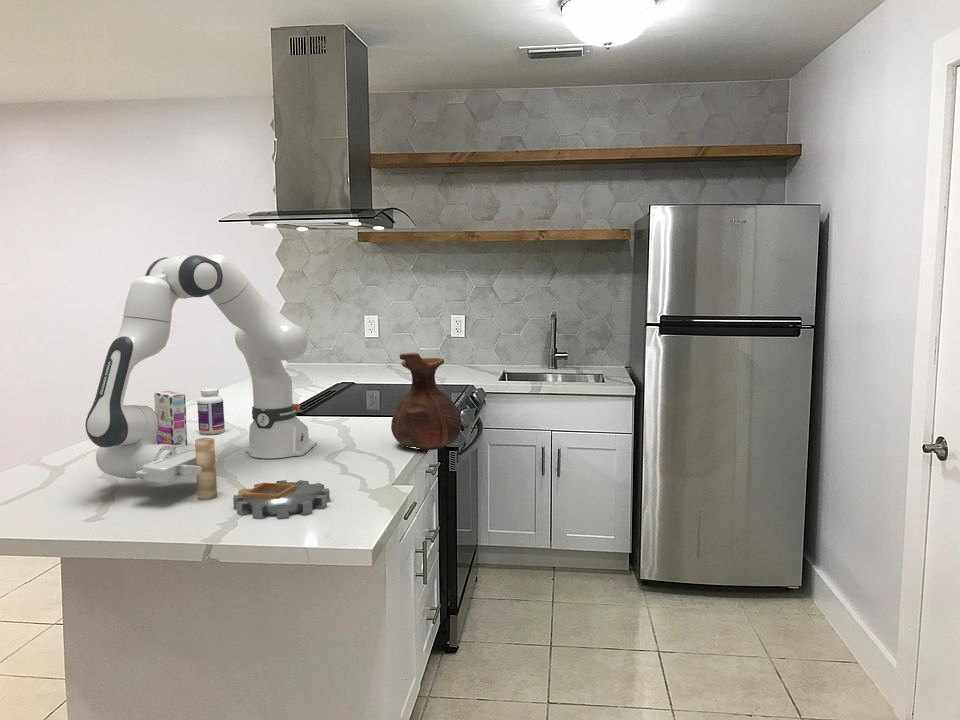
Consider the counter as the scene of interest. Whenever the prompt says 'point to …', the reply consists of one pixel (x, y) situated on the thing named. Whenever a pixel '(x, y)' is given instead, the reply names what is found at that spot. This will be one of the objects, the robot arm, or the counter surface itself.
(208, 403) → the pill bottle
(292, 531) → the counter surface
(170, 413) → the candy bar box
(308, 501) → the sprocket
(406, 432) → the jug
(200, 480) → the drive pin
